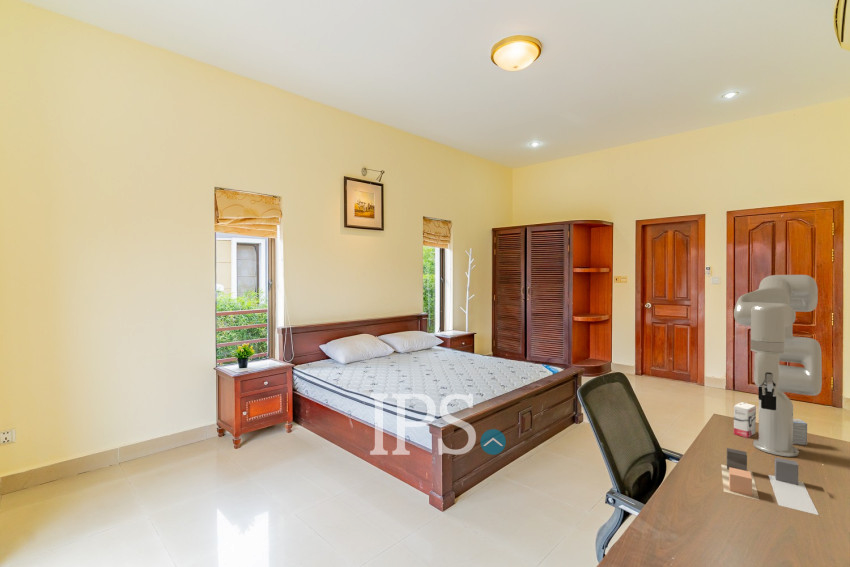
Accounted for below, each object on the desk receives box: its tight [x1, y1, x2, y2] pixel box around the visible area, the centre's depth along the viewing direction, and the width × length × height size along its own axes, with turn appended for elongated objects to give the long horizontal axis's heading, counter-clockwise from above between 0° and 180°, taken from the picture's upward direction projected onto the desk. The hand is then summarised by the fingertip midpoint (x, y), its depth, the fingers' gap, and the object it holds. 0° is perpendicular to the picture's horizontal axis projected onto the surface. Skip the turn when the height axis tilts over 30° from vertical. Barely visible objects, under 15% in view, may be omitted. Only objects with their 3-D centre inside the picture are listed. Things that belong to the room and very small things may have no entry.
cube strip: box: [720, 447, 760, 501], centre depth 121 cm, size 20×8×7 cm, turn 145°
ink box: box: [733, 401, 757, 439], centre depth 159 cm, size 8×5×12 cm, turn 123°
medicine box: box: [793, 418, 808, 446], centre depth 151 cm, size 8×4×9 cm, turn 71°
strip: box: [768, 457, 819, 516], centre depth 114 cm, size 20×8×7 cm, turn 145°
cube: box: [729, 467, 752, 496], centre depth 116 cm, size 5×5×5 cm
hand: (766, 404), depth 115 cm, fingers open, 9 cm apart
